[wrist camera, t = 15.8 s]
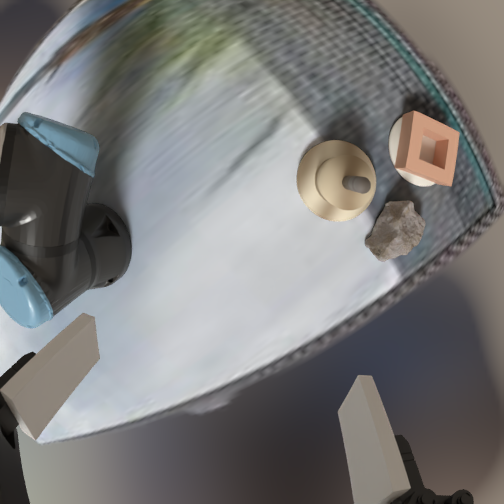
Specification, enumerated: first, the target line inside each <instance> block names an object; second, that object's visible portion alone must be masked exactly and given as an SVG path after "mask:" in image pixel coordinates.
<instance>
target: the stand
mask: <svg viewBox="0 0 504 504" xmlns="http://www.w3.org/2000/svg"><path fill="white" fill-rule="evenodd" d="M297 188H298V191H299V194H300V197H301V199H302V200H303V202H304V203H305V205H306V206H307V207H308V208H309V209H310V210H311V211H312V212H313V213H314V214H316V215H317V216H319V217H321V218H323V219H326V220H330V221H346V220H350V219H352V218H355V217H356V216H358V215H360V214H361V213H362V212H363V211H364V210H365V209H366V208H367V207H368V206H369V204H370V203H371V201H372V199H373V196H374V193H375V189H376V175H375V171H374V168H373V165H372V163H371V161H370V159H369V158H368V156H367V155H366V154H365V153H364V152H363V151H362V150H361V149H360V148H358V147H357V146H355V145H353V144H351V143H349V142H346V141H341V140H330V141H325V142H322V143H320V144H318V145H316V146H314V147H313V148H312V149H310V150H309V151H308V152H307V153H306V154H305V156H304V157H303V159H302V160H301V162H300V164H299V167H298V171H297Z"/></svg>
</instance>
